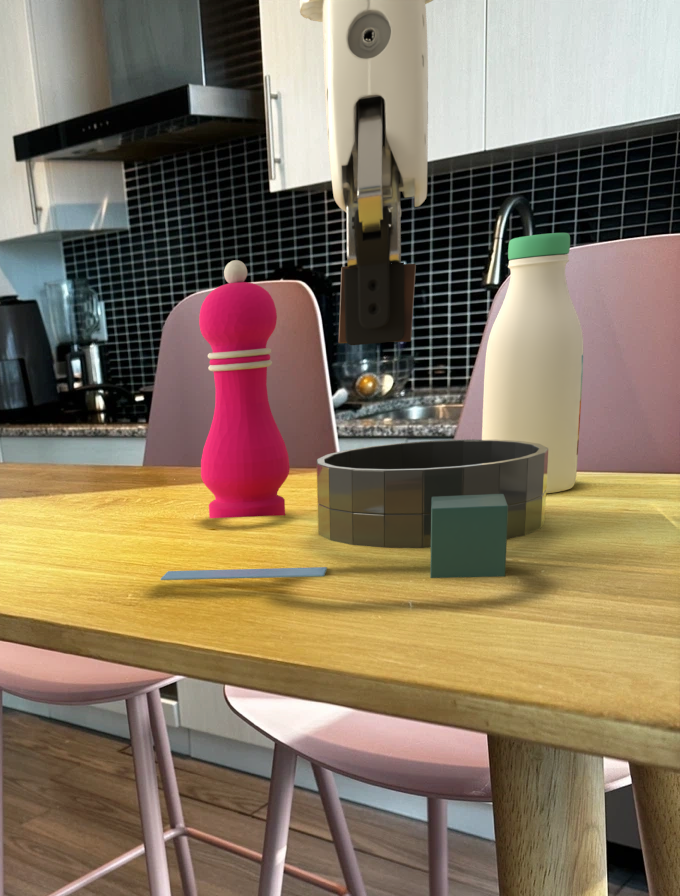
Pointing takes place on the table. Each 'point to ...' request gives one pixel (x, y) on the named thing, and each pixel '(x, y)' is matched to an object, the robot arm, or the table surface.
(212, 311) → the pepper mill
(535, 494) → the dark round bowl
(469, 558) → the teal block
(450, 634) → the table surface
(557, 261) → the milk bottle
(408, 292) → the walnut block
